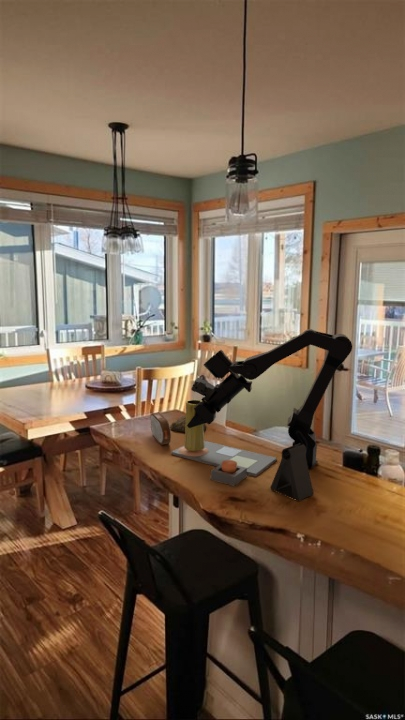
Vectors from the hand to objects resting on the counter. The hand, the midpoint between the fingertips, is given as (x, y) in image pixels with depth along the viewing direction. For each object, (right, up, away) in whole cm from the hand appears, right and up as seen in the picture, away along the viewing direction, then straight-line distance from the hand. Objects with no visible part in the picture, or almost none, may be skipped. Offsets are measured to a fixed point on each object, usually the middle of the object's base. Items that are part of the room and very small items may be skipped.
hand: (190, 423), depth 142 cm
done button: (+11, -10, -16) cm, 22 cm away
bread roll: (-1, -5, +26) cm, 27 cm away
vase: (+1, -7, +1) cm, 8 cm away
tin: (-10, -7, +12) cm, 18 cm away
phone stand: (+26, -14, -23) cm, 38 cm away
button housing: (+11, -12, -16) cm, 23 cm away
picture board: (+10, -10, -1) cm, 14 cm away
